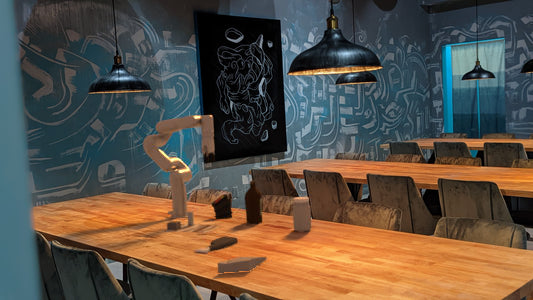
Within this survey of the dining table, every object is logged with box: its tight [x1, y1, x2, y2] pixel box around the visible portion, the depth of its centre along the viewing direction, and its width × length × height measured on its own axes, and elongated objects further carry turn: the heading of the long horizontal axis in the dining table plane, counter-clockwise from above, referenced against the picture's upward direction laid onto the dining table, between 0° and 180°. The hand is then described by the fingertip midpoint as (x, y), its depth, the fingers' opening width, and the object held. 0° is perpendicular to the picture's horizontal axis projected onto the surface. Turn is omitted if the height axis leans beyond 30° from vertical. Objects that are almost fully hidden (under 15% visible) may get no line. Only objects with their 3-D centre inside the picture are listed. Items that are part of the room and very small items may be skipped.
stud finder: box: [166, 220, 182, 230], centre depth 315 cm, size 6×5×5 cm
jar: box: [292, 196, 312, 232], centre depth 302 cm, size 10×10×18 cm
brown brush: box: [194, 236, 239, 254], centre depth 273 cm, size 3×11×24 cm
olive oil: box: [244, 180, 263, 225], centre depth 330 cm, size 11×11×25 cm
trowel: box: [217, 256, 267, 274], centre depth 236 cm, size 28×16×5 cm, turn 137°
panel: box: [162, 223, 221, 236], centre depth 316 cm, size 28×20×1 cm
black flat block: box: [211, 194, 233, 220], centre depth 347 cm, size 4×13×15 cm, turn 129°
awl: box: [187, 210, 194, 226], centre depth 324 cm, size 3×3×8 cm
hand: (209, 162), depth 345 cm, fingers open, 9 cm apart
